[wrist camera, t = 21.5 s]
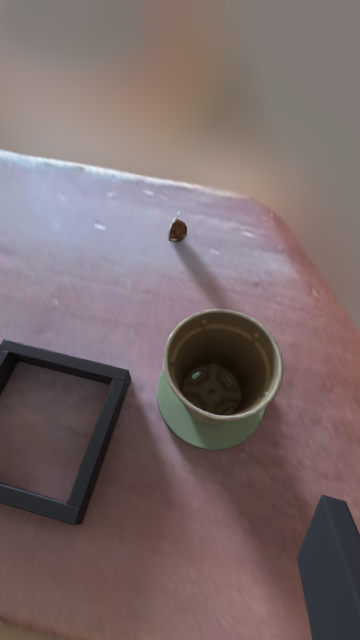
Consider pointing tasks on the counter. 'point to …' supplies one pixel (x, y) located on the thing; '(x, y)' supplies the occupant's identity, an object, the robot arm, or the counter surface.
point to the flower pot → (223, 365)
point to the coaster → (199, 431)
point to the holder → (72, 512)
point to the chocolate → (177, 230)
